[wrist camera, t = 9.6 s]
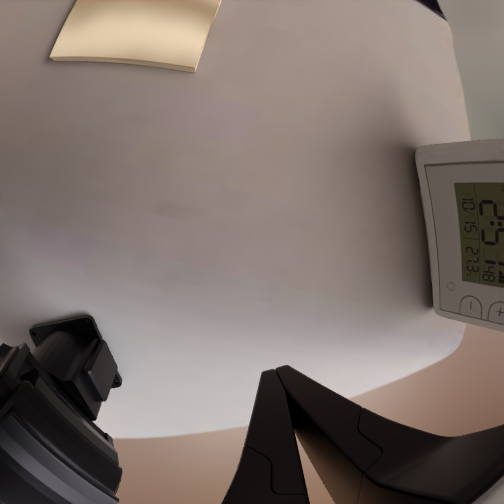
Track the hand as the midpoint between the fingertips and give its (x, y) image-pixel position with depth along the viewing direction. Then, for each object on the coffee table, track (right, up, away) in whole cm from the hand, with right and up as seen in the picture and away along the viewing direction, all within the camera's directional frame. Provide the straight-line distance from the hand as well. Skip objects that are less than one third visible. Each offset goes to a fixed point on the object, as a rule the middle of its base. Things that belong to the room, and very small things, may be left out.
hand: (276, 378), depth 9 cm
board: (-7, +28, +5) cm, 29 cm away
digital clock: (+17, +6, +14) cm, 23 cm away
